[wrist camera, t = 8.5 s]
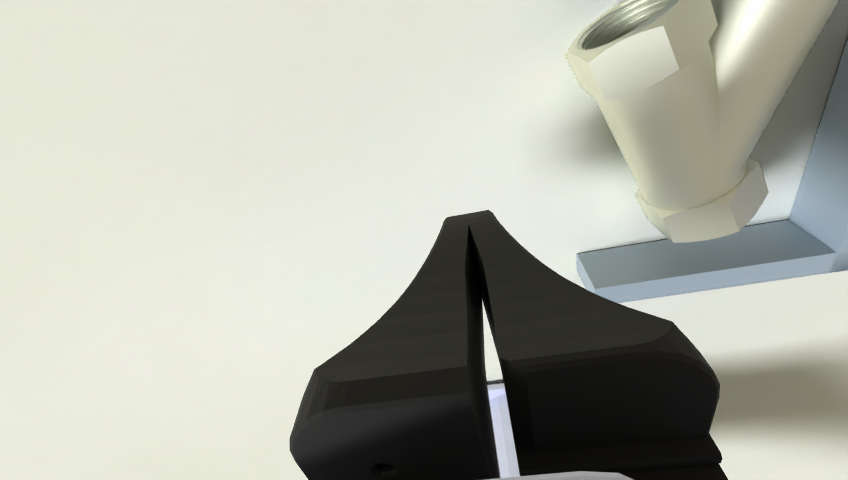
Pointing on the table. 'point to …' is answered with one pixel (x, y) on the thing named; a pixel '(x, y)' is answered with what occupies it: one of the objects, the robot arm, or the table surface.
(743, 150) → the pipe fitting
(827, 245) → the shaft seat
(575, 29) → the table surface
